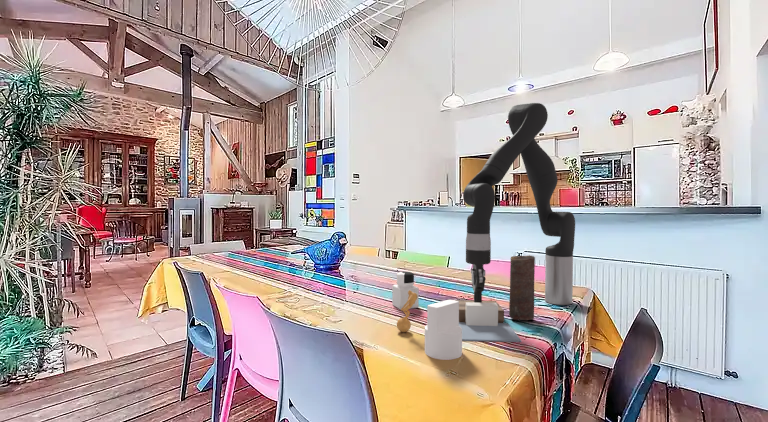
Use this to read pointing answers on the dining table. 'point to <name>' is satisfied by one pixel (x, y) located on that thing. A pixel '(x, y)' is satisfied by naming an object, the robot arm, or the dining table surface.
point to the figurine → (404, 323)
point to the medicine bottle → (404, 290)
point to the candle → (522, 287)
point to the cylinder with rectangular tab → (443, 331)
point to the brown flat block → (463, 302)
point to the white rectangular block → (481, 314)
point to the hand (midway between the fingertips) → (477, 303)
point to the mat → (489, 333)
